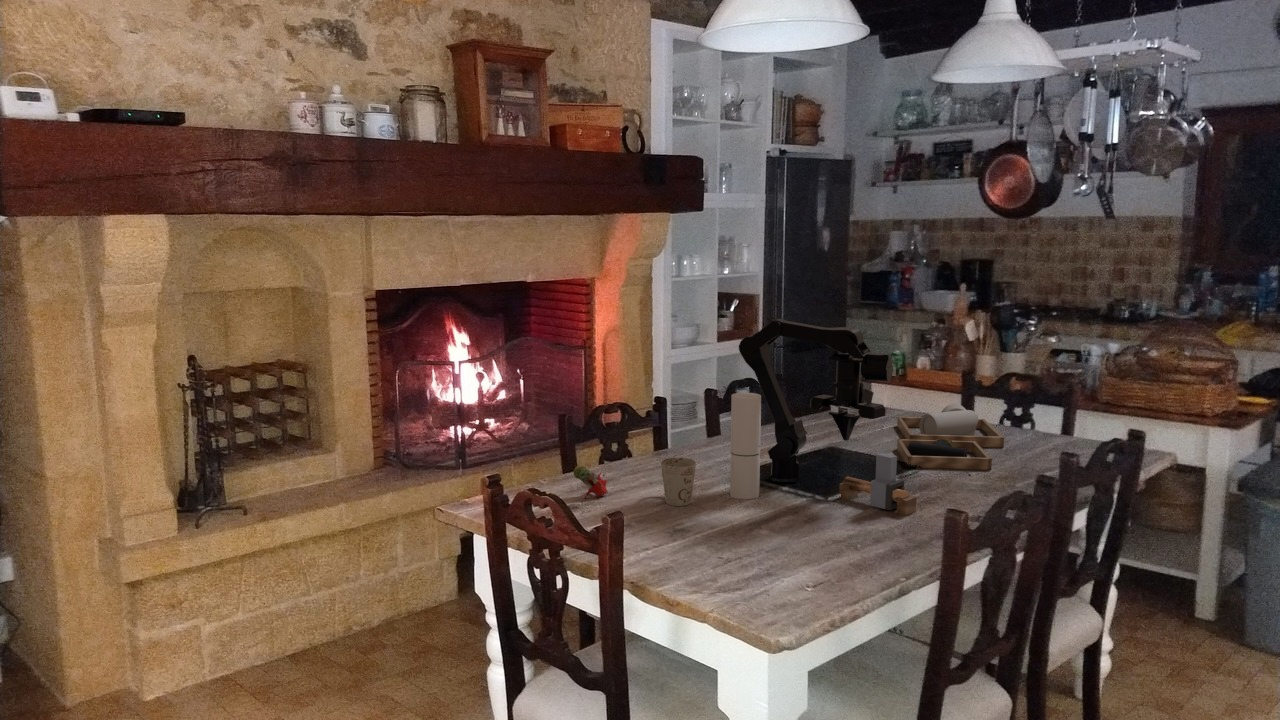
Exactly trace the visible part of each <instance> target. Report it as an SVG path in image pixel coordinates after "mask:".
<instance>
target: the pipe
mask: <svg viewBox="0 0 1280 720" xmlns="http://www.w3.org/2000/svg"><path fill="white" fill-rule="evenodd" d="M842 483H843V484H846V485H850V489H851V490H853V491H857V492H858V493H862V494H865V495H870V496H871V481H868V480H864V479H860V478H855V477H851V476H845V477H844V479H843V481H842ZM910 495H911V493H910V491H908V490H905V489H904V490H901V489H897V488H894V489H893V496H892V501H896V502H897V499H898V498H901V499H904V498H907V497H909V496H910Z"/></svg>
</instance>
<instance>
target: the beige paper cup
mask: <svg viewBox="0 0 1280 720" xmlns="http://www.w3.org/2000/svg"><path fill="white" fill-rule="evenodd" d="M660 466H661V468H660V469H661V474H662V482H663V483H662V484H663V489H664V491H663V492H664V498H665V503H666V504H667V505H669V506H674V507H683V506H684V507H685V506H688V505H690V504H691V502H692V497H693V491H694V489H693V488H694V482H695V473H696V468H697V462H696V461H695V460H694V459H692V458H688V457H668V458H665V459H663V460H661V462H660Z"/></svg>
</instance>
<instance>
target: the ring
mask: <svg viewBox="0 0 1280 720" xmlns="http://www.w3.org/2000/svg"><path fill="white" fill-rule="evenodd" d="M898 479H899V480H897V481H894V482H891V483H888V484H886V499H885V509H884V510H887V511H893V510H894V509H897V502H896V501H894V502H892V496H893V489H894V488H896V487H897V489H901V490H905V480H904V479H901V478H898Z"/></svg>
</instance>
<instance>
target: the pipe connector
mask: <svg viewBox="0 0 1280 720" xmlns="http://www.w3.org/2000/svg"><path fill="white" fill-rule="evenodd" d="M908 451H909V453H910V454H911V456H942V457H968V452H967V449H964V448H955V447H952V440H947V439H937V440H936V441H935V443H934V444H933V445H931V444H923V443H914V442H910V444H909V447H908Z"/></svg>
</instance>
